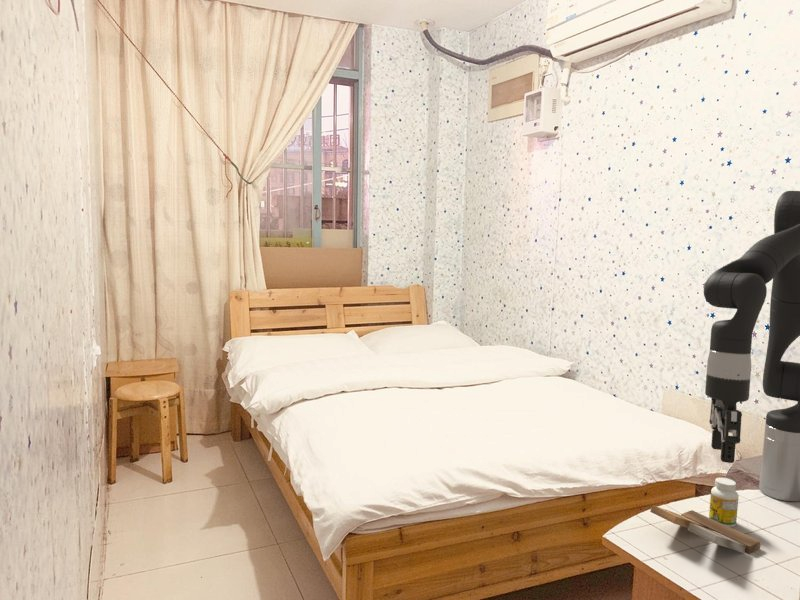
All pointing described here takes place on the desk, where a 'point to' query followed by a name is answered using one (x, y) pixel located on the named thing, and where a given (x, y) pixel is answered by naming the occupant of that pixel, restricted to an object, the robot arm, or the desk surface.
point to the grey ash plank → (716, 538)
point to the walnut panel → (724, 530)
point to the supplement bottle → (724, 502)
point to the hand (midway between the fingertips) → (722, 455)
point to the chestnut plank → (674, 517)
